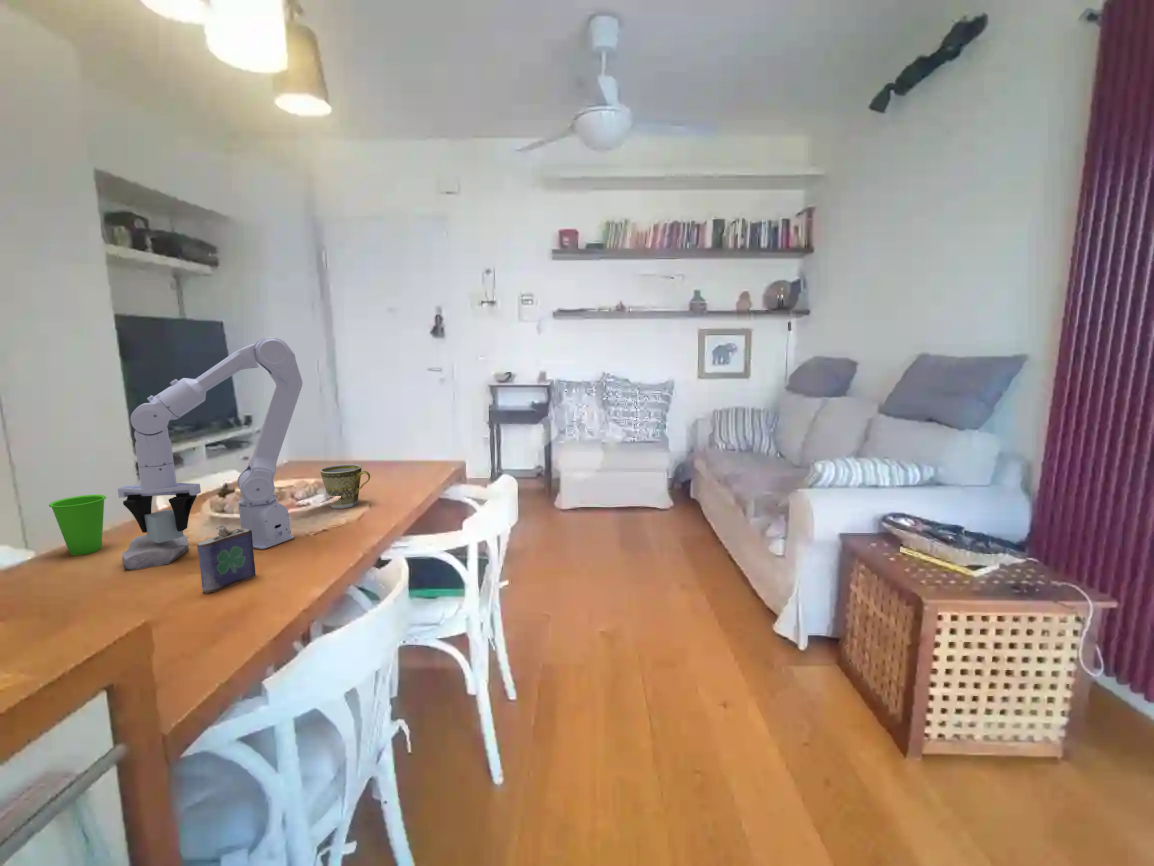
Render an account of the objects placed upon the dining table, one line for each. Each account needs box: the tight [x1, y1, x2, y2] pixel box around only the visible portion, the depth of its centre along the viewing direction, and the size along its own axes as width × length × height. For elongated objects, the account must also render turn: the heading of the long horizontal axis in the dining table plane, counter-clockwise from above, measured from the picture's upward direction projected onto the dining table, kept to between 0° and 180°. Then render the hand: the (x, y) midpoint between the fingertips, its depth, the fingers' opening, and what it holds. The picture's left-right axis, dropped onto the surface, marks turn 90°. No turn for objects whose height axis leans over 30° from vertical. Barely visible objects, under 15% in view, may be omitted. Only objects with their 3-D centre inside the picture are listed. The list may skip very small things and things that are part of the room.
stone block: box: [121, 534, 190, 571], centre depth 117 cm, size 12×5×10 cm
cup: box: [48, 494, 107, 556], centre depth 120 cm, size 9×9×11 cm
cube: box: [145, 508, 185, 543], centre depth 115 cm, size 4×4×5 cm
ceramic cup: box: [320, 463, 371, 510], centre depth 152 cm, size 13×10×10 cm
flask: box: [196, 524, 257, 595], centre depth 102 cm, size 9×3×11 cm, turn 151°
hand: (165, 530), depth 116 cm, fingers closed on cube, 6 cm apart
